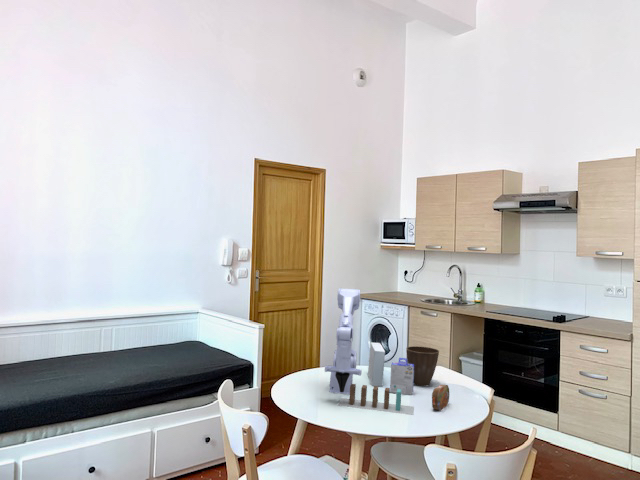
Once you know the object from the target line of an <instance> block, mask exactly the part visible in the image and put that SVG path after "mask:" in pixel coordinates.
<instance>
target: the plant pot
mask: <svg viewBox="0 0 640 480" xmlns="http://www.w3.org/2000/svg"><path fill="white" fill-rule="evenodd" d="M439 354H440V350H438V349H437V348H433V347H428V346H416V345H415V346H414V345H413V346H407V347H406V358H407V364H414V384H413V385H416V386H418V387H428V386H430V385H431V382H432V380H433V378H434V374H435V371H436V368H437V364H438V361H439V360H438V359H439Z"/></svg>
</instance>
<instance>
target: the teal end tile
mask: <svg viewBox="0 0 640 480" xmlns="http://www.w3.org/2000/svg"><path fill="white" fill-rule="evenodd" d="M395 394H396V397H395V404H396V410H397V411H400V408H401V405H402V403H401V402H402V394H401V389H397V393H395Z"/></svg>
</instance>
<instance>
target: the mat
mask: <svg viewBox="0 0 640 480" xmlns="http://www.w3.org/2000/svg"><path fill="white" fill-rule="evenodd" d="M336 406H337V407H338V406H339V407H345V408H352V409H354V408H355V409H362V410H371V411H377V412H386V413H395V414H401V415H402V414H404V415H409V416H414V412H415V406H414V405H413V406H411V405H404V404H401V408H400V411H397V410H396V403H389V407H388V409H384V402H379V401H378V403H377V407H376V408H373V407H372V400H371V401H369V400H366V404H365V406H361V399H355V402H354V404H353V405H349V398H347V397H346V398H345V397H341V398H340V400H339V402H338V403H337V405H336Z"/></svg>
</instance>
